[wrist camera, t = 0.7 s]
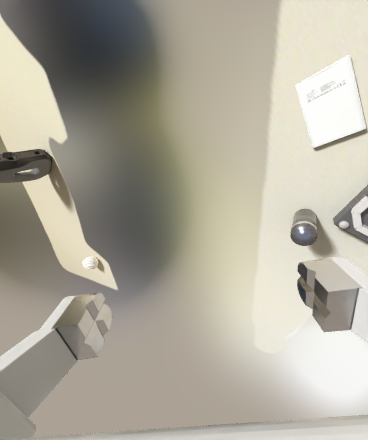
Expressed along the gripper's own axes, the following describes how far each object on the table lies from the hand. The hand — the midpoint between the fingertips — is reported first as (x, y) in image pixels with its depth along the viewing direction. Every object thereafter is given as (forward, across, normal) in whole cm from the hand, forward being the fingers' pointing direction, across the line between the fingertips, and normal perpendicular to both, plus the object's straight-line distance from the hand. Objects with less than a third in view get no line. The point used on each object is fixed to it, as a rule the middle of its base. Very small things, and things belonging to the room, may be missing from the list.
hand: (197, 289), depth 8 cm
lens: (+38, -24, +18) cm, 48 cm away
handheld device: (+89, +68, -7) cm, 112 cm away
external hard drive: (+37, -28, -5) cm, 47 cm away
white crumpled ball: (+86, +64, +48) cm, 117 cm away
